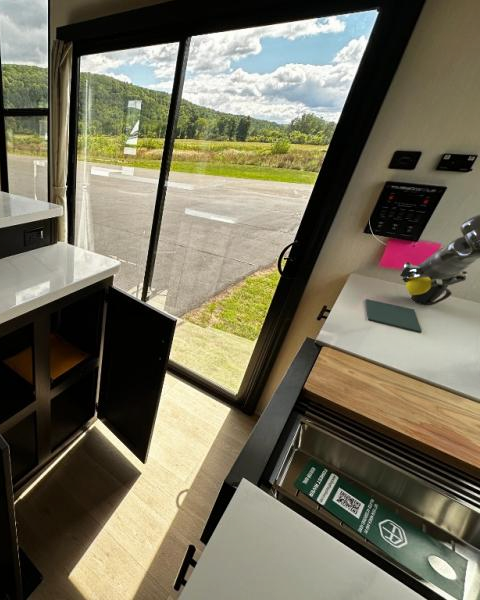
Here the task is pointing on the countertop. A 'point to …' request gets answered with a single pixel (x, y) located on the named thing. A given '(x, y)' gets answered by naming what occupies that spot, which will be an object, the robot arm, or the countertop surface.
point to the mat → (392, 315)
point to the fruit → (418, 285)
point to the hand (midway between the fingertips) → (418, 281)
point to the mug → (432, 295)
